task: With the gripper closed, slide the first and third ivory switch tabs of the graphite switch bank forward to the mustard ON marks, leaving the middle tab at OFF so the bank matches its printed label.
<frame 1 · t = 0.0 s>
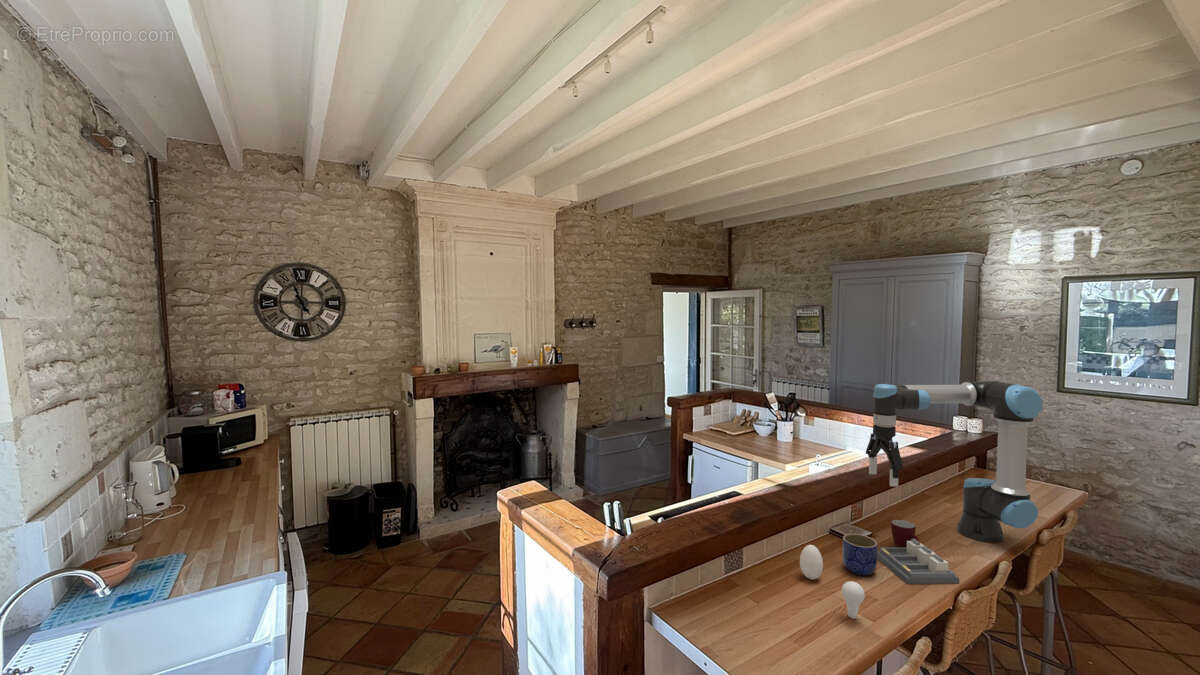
hand: (882, 479, 187), 28 cm above the breakfast bar, fingers open, 13 cm apart
planter: (859, 571, 174), on the breakfast bar
lightbulb: (852, 618, 147), on the breakfast bar
tab 3: (938, 564, 168), point 5 cm above the breakfast bar, slide at -4.0 cm
egg: (811, 579, 169), on the breakfast bar
switch bank: (915, 569, 174), on the breakfast bar
tab 2: (926, 556, 174), point 5 cm above the breakfast bar, slide at -4.0 cm
tab 1: (915, 548, 180), point 5 cm above the breakfast bar, slide at -4.0 cm
mug: (906, 551, 188), on the breakfast bar, touching switch bank
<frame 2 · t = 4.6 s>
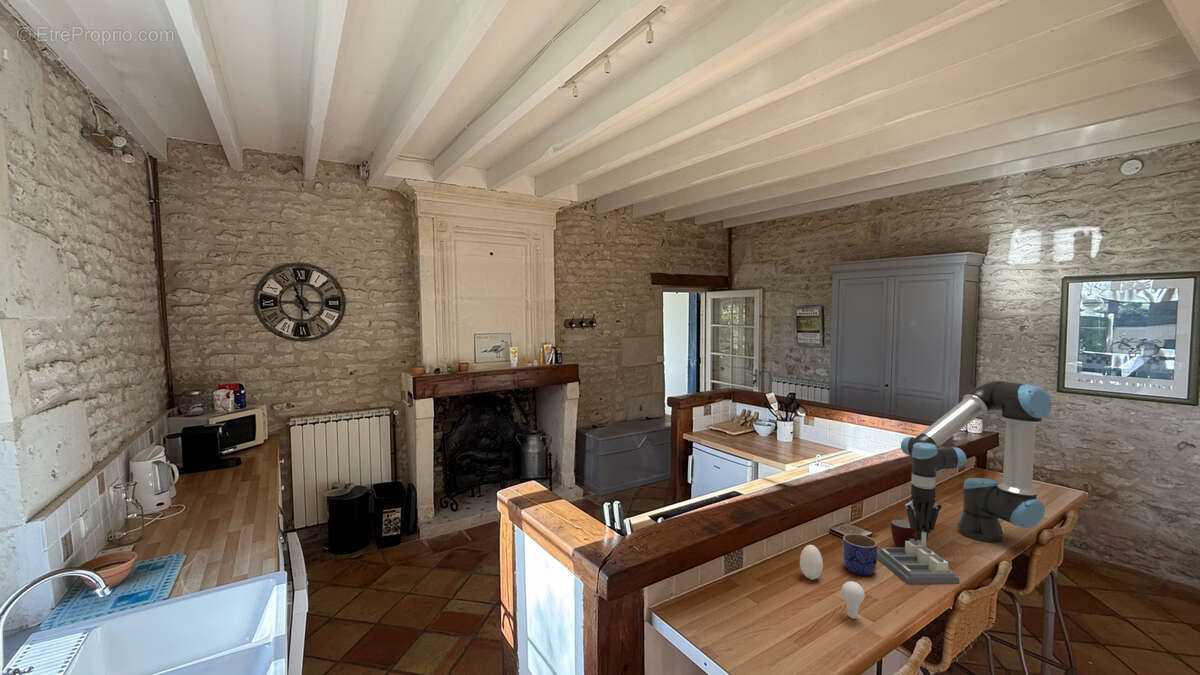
hand: (921, 548, 180), 5 cm above the breakfast bar, fingers closed
tab 1: (913, 548, 180), point 5 cm above the breakfast bar, slide at -3.4 cm, touching gripper
everything else where it was.
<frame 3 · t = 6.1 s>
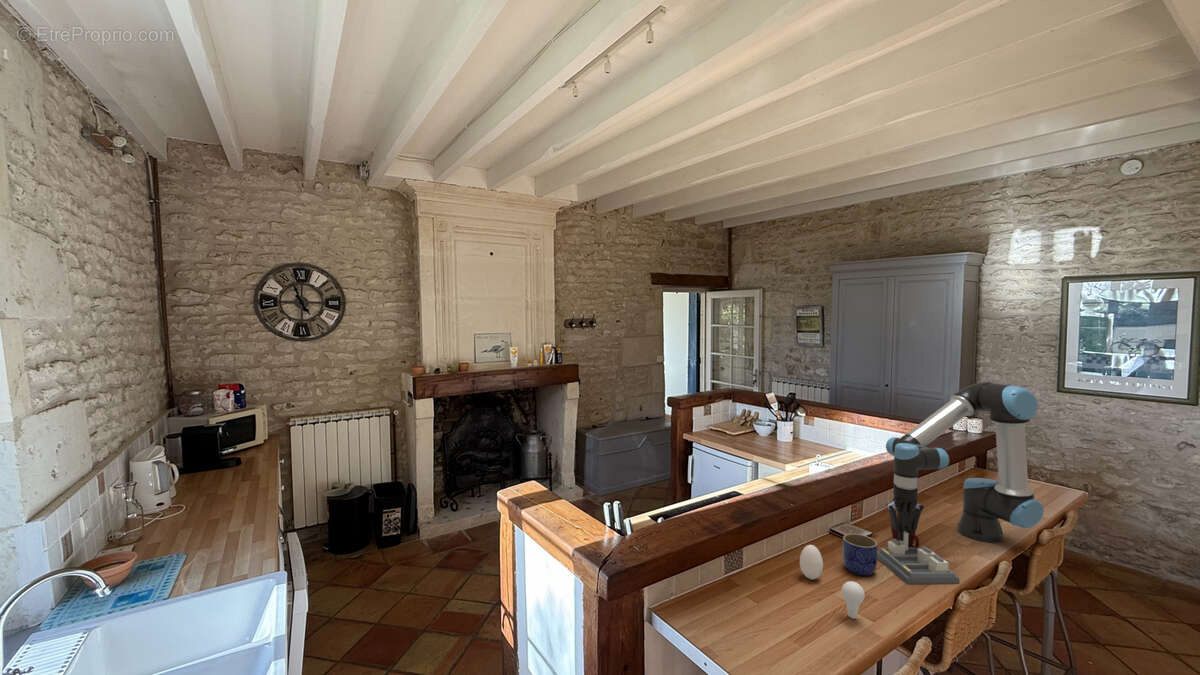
hand: (903, 548, 180), 5 cm above the breakfast bar, fingers closed
tab 1: (896, 548, 180), point 5 cm above the breakfast bar, slide at 3.1 cm, touching gripper
everything else where it was.
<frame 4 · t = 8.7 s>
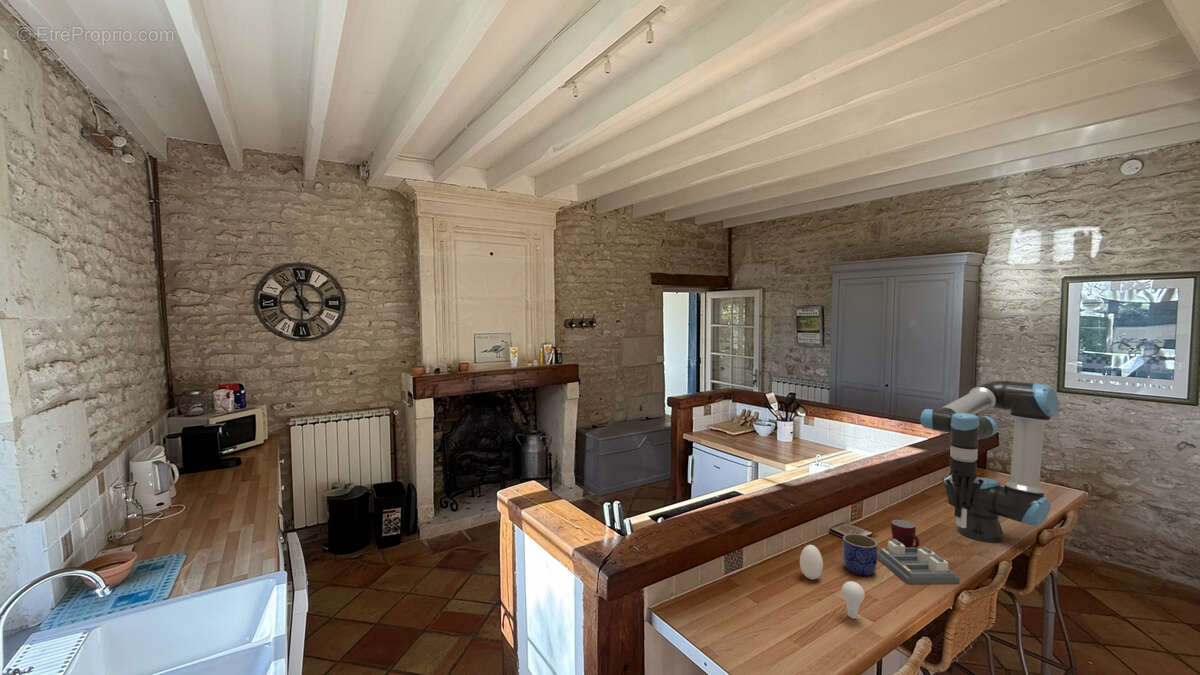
hand: (961, 526, 168), 18 cm above the breakfast bar, fingers closed
tab 1: (896, 548, 180), point 5 cm above the breakfast bar, slide at 3.2 cm
everything else where it was.
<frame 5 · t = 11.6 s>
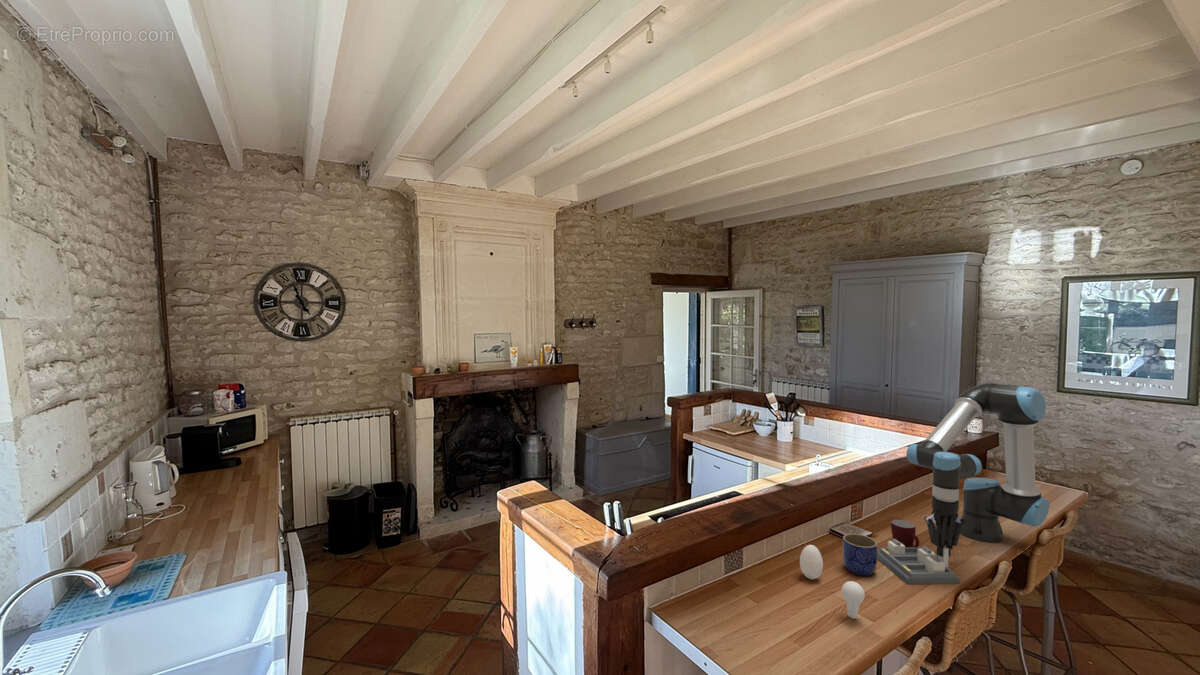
hand: (943, 565, 168), 5 cm above the breakfast bar, fingers closed
tab 3: (935, 564, 168), point 5 cm above the breakfast bar, slide at -2.9 cm, touching gripper
everything else where it was.
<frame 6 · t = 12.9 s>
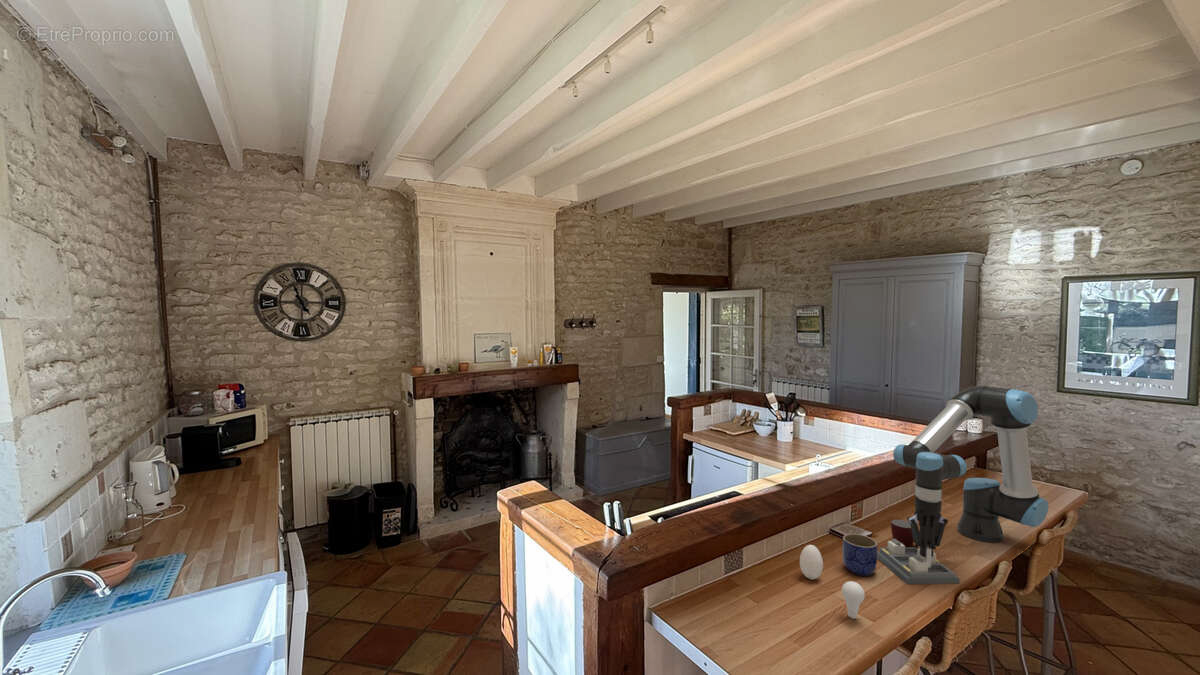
hand: (926, 565, 168), 5 cm above the breakfast bar, fingers closed
tab 3: (918, 564, 168), point 5 cm above the breakfast bar, slide at 3.0 cm, touching gripper
everything else where it was.
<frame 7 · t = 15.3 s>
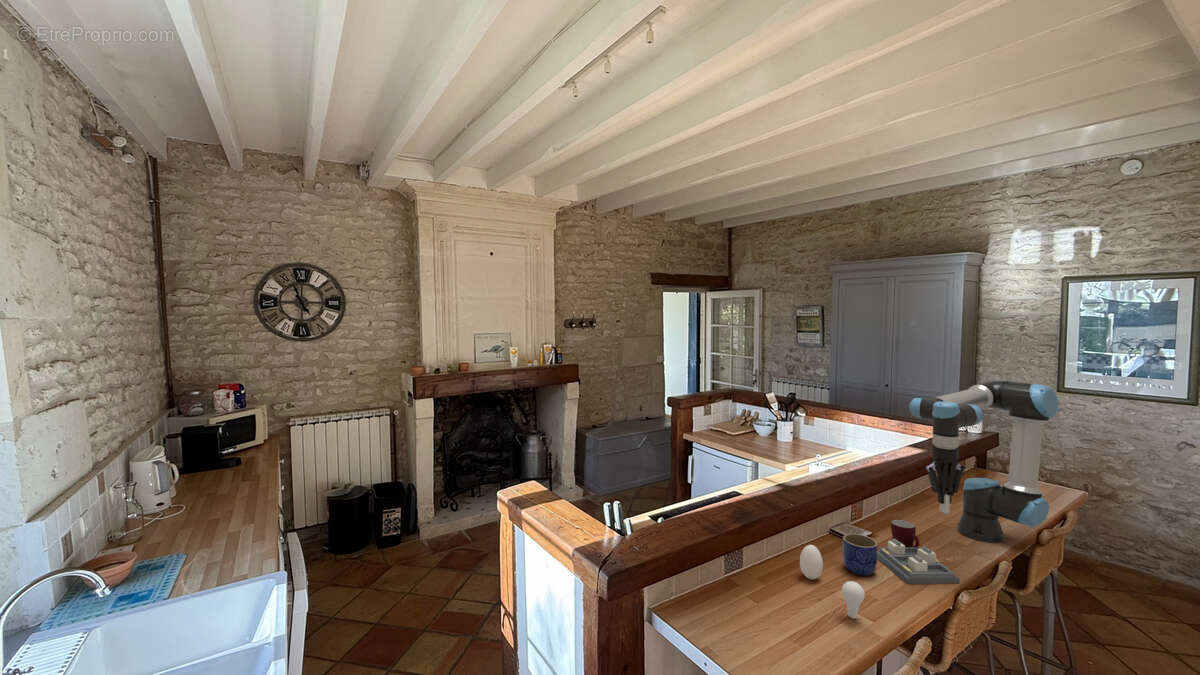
hand: (944, 512, 171), 22 cm above the breakfast bar, fingers closed
tab 3: (917, 564, 168), point 5 cm above the breakfast bar, slide at 3.2 cm
everything else where it was.
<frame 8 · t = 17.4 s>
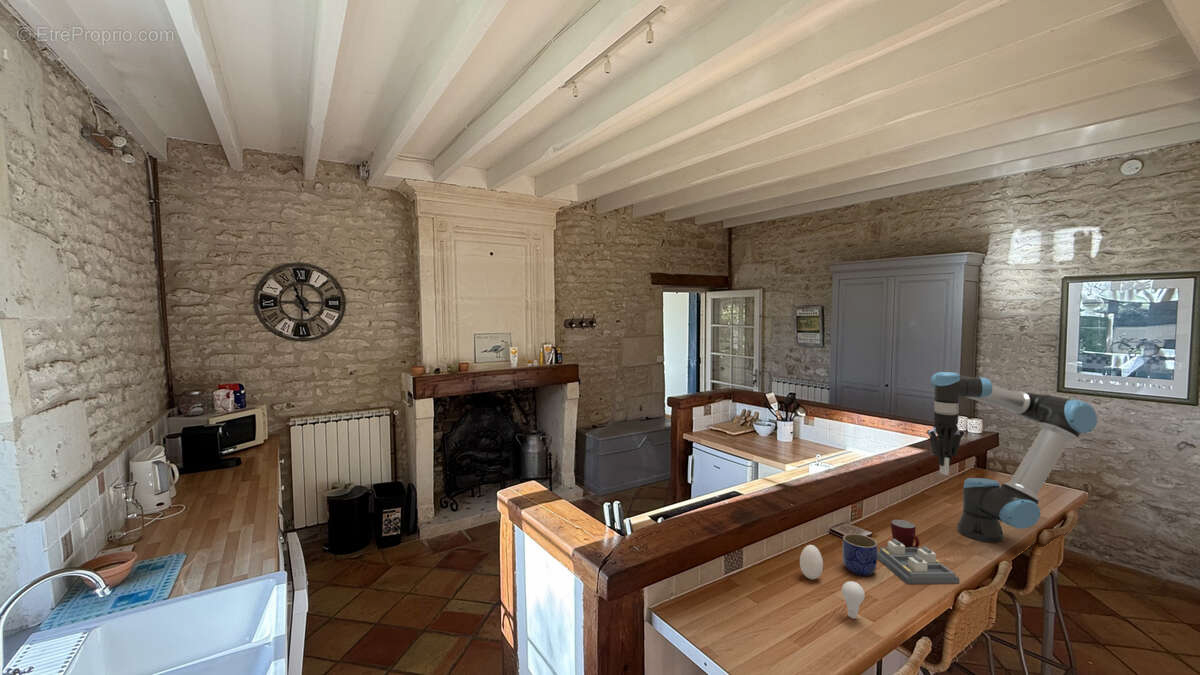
hand: (944, 473, 186), 30 cm above the breakfast bar, fingers closed
nothing on the breakfast bar moved.
at the end: tab 1 slide at 3.2 cm; tab 3 slide at 3.2 cm; tab 2 slide at -4.0 cm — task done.
